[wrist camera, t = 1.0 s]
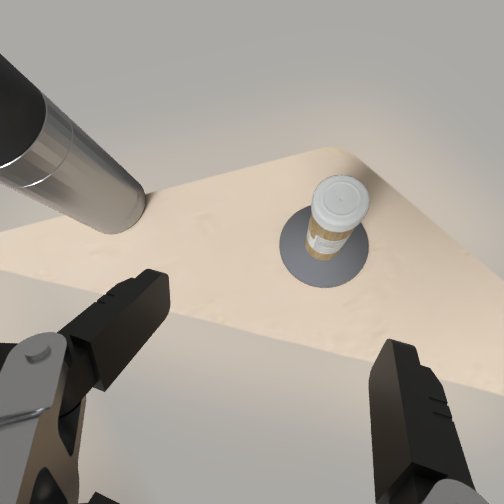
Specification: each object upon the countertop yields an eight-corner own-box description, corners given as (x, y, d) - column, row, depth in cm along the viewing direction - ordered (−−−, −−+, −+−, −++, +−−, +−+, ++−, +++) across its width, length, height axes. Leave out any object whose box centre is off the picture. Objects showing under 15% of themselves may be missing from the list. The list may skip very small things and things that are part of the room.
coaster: (268, 271, 36) (268, 271, 35) (294, 195, 38) (294, 195, 38) (355, 300, 33) (355, 300, 33) (377, 217, 35) (378, 216, 35)
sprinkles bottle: (310, 223, 36) (321, 167, 23) (345, 232, 35) (377, 179, 22) (300, 256, 35) (305, 216, 22) (336, 266, 34) (363, 231, 21)
